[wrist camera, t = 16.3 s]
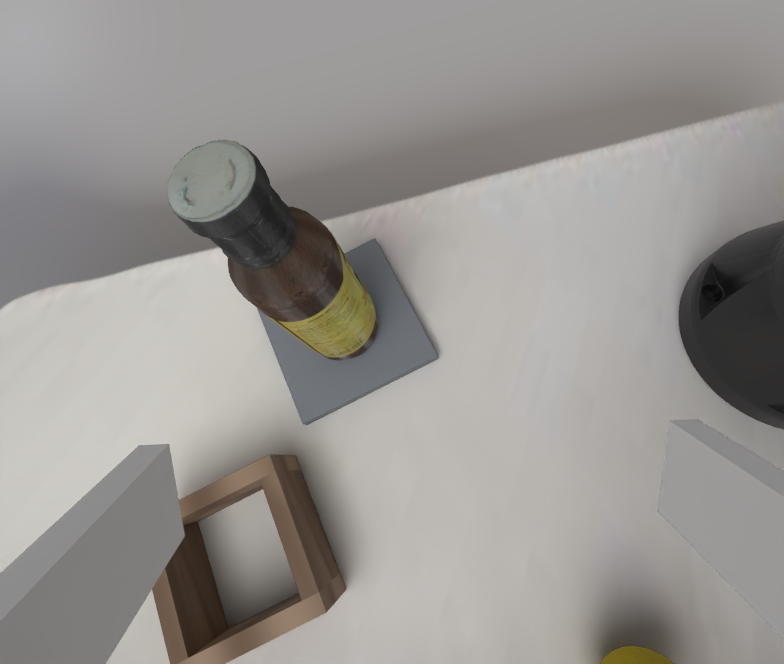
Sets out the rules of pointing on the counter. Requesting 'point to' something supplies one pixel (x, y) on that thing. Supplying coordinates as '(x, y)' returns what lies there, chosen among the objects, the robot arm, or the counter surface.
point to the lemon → (634, 656)
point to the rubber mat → (374, 366)
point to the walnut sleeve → (195, 579)
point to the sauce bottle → (274, 250)
